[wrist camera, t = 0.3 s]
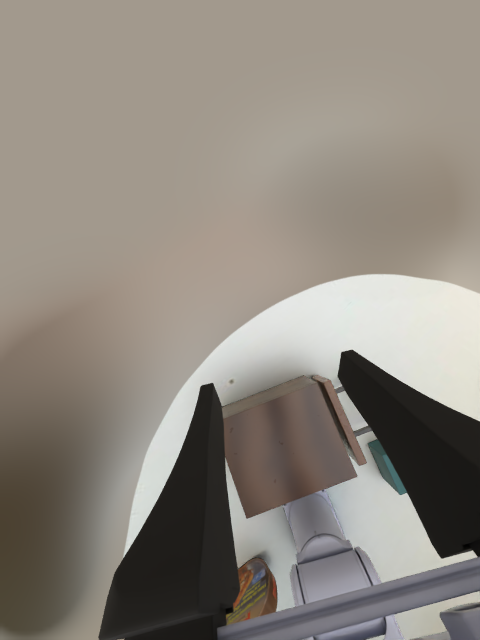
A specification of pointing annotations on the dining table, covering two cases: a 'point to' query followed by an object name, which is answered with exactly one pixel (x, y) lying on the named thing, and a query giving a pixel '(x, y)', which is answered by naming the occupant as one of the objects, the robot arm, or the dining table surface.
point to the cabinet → (283, 446)
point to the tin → (254, 592)
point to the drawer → (341, 419)
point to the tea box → (386, 467)
